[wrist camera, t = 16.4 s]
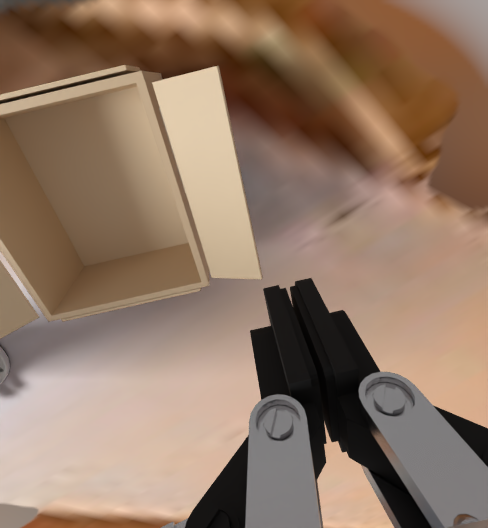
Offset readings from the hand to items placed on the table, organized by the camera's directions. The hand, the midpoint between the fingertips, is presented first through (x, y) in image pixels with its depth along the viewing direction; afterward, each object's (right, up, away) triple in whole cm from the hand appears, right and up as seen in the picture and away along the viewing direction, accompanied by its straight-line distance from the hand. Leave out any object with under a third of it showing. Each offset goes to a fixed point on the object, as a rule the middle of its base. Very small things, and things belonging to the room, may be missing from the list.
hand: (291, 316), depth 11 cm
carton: (-16, +11, +24) cm, 30 cm away
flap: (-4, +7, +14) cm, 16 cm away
